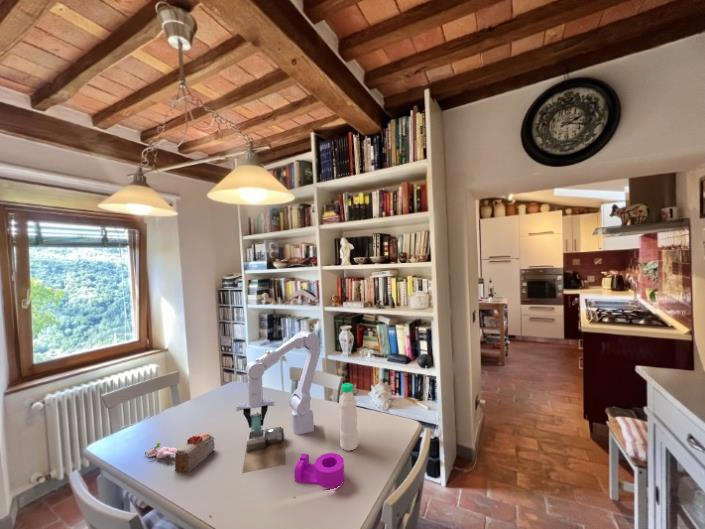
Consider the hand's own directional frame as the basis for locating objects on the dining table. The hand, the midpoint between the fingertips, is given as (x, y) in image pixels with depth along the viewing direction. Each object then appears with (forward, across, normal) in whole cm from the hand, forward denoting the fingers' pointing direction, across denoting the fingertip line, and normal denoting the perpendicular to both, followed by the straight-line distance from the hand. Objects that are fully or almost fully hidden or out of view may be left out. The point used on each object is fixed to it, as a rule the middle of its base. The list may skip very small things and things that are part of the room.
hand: (256, 425), depth 119 cm
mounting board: (+9, -3, +5) cm, 11 cm away
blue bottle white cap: (+1, 0, 0) cm, 1 cm away
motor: (+8, -4, 0) cm, 9 cm away
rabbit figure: (+10, +36, -6) cm, 38 cm away
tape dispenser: (+10, -22, +24) cm, 35 cm away
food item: (+10, +22, +2) cm, 24 cm away
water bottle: (+10, -36, +10) cm, 38 cm away
